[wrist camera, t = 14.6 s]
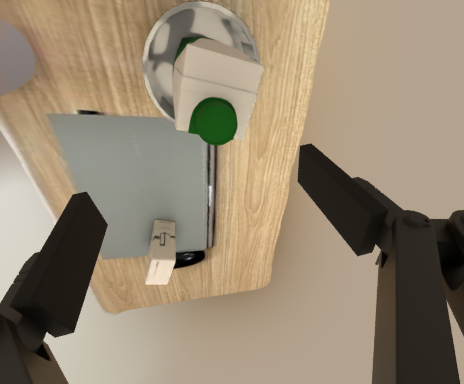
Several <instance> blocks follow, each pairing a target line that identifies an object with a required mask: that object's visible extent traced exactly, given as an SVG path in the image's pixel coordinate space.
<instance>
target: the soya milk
mask: <svg viewBox="0 0 464 384" xmlns="http://www.w3.org/2000/svg"><path fill="white" fill-rule="evenodd" d="M264 67H265V66H263V65H261V64H260V63H258V62H256V61H254V60H253V59H251V58H249V57H248V56H246V55H245V54H243V53H241V52H240V51H238V50H236V49H235V48H233V47H231V46H228V45H226V44H224V43H221V42H219V41H216V40H214V39H210V38H205V37H201V36H195V37H187V38H182V40H181V42H180V45H179V48H178V50H177V53H176V55H175V60H174V67H173V103H174V114H175V125H176V130H181V131H188V133H193V134H198V135H200V137H201V138H202V139H203V140H204V141H205V142H207V143H208V144H211V145H223V144H225V143H227V142H229V141H230V140H233V139H235V140H240V141H243V139H244V136H245V133H246V130H247V126H248V123H249V120H250V117H251V114H252V110H253V107H254V105H255V102H256V99H257V95H258V94H257V91H258V88H259V84H260V81H261V78H262V74H263V71H264Z"/></svg>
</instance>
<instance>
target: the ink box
mask: <svg viewBox="0 0 464 384" xmlns="http://www.w3.org/2000/svg"><path fill="white" fill-rule="evenodd" d="M175 261H176V258H175V222H172V221H164V220H155V222H154V227H153V232H152V236H151V241H150V246H149V254H148V262H147V271H146V279H145V284H146V285H167V284H168V281H169V278H170V276H171V273H172V270H173V267H174V264H175Z"/></svg>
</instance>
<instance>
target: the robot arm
mask: <svg viewBox="0 0 464 384" xmlns="http://www.w3.org/2000/svg"><path fill="white" fill-rule="evenodd" d="M299 153H300V154H299V168H298V182H299V184H300V185H301V186H302V187H303V189H304V190H305V191H306V192H307V194H308V195H309V196H310V197H311V199H312V200H313V201H314V202H315V203H316V205H317V206H318V207H319V209H320V210H321V211H322V212H323V214H324V215H325V216H326V217H327V219H328V220H329V221H330V222H331V224H332V225H333V226H334V227H335V229H336V230H337V231H338V232H339V234H340V235H341V236H342V237H343V239H344V240H345V241H346V242H347V243H348V245H349V246H350V247H351V248H352V250H353V251H354V252H355V254H356V255H357V256H360V255H364V254H368V253H372V251H373V249H374V247H375V244H376V245H377V246H378V247H379V248H380V249H381V252H380V254H379V256H378V259H377V261H376V265H378V264H379V269H378V287H377V304H376V306H377V307H376V321H375V338H374V357H373V374H372V384H460V380H459V374H458V368H457V362H456V356H455V350H454V344H453V338H452V332H451V326H450V320H449V314H448V308H447V302H448V304H449V306H450V308H451V310H452V312H453V314H454V317H455V319H456V321H457V323H458V325H459V327H460V329H461V332H462V334H463V336H464V210H458V211H455V212H453V213H452V215H451V216H450V218H449V219H429V218H428V217H427V216H425V215H423V214H421V213H419V212H416V211H410V210H403V209H402V208H400V207H399V206H398V205H396V204H395V203H394V202H393V201H392V200H390V199H389V198H388V197H387V196H385V195H384V194H383V193H381V192H380V191H379V190H378V189H377V188H375V187H374V186H373V185H372V184H370V183H369V182H368V181H366V180H363V179H361V178H359V177H356V178H351V177H350V176H349V175H347V174H346V173H345V172H344V171H343V170H342V169H340V168H339V167H338V166H337V165H335V163H333V162H332V161H331V160H330V159H329V158H328V157H326V156H325V155H324V154H323V153H322V152H321V151H319V150H318V149H317V148H316V147H315V146H314V145H312V144H307V145H302V146H300V152H299ZM107 226H108V224H107V223H106V221H105V220H104V218H103V217H102V215H101V213H100V212H99V210H98V209H97V207H96V206H95V204H94V202H93V201H92V199H91V198H90V196H89V195H88V193H87V192H82V193H78V194H73V195H72V197H71V199H70V201H69V202H68V204H67V206H66V207H65V209H64V211H63V213H62V214H61V216H60V218H59V220H58V221H57V223H56V225H55V227H54V228H53V230H52V232H51V234H50V235H49V237H48V239H47V241H46V242H45V244H44V246H43V247H42V249H41V251H40V252H37V253H34V254H33V255H32V256H31V257H30V258H29V259H28V260H27V261H26V262H25V264H24V265H23V267H22V269H21V270H20V272H19V275H17V277H16V278H15V280H14V284H12V285H11V286H10V288H9V290H8V291H7V293H6V295H5V296H4V298H3V300H2V301H1V303H0V384H68V382H67V380H66V378H65V376H64V374H63V372H62V371H61V369H60V367H59V365H58V363H57V361H56V359H55V358H54V356H53V354H52V352H51V350H50V348H49V346H48V345H47V344H46V343H45V342H44V341H43V339H44V337H45V334H46V332H48V333H49V334H51V335H52V336H54V337H55V338H56V337H59V336H63V335H67V334H70V333H73V332H74V330H75V328H76V324H77V321H78V318H79V315H80V311H81V308H82V305H83V302H84V299H85V296H86V292H87V289H88V286H89V283H90V280H91V277H92V274H93V270H94V267H95V264H96V261H97V258H98V255H99V251H100V248H101V245H102V242H103V239H104V235H105V232H106V229H107ZM446 299H447V302H446Z"/></svg>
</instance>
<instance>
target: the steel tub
mask: <svg viewBox="0 0 464 384" xmlns="http://www.w3.org/2000/svg"><path fill="white" fill-rule="evenodd" d="M195 36H201V37H205V38H210V39H214V40H216V41H219V42H221V43H224V44H226V45H228V46H231V47H233V48H235V49H236V50H238V51H240V52H241V53H243V54H245V55H246V56H248V57H249V58H251V59H253V60H254V61H256V62H258V63H260V56H259V52H258V49H257V45H256V42H255V40H254V38H253V36H252V34H251V32H250V31H249V29H248V27H247V26H246V25H245V24H244V23H243V21H242V20H241V19H240V18H239V17H238V16H237V15H236V14H235V13H233V12H232V11H230V10H228V9H227V8H225V7H223V6H221V5H220V4H216V3H211V2H207V1H201V0H200V1H192V2H184V3H182V4H180V5H178V6H176V7H174V8H172V9H170V10H168V11H166V12H165V13H164V15H163V16H162V17H161V18H160V19H159V20H158V21H157V22H156V23H155V24H154V25H153V27H152V29H151V31H150V33H149V35H148V37H147V39H146V41H145V46H144V52H143V57H142V67H143V79H144V82H145V85H146V88H147V92H148V94H149V96H150V98H151V99H152V101H153V103H154V105H155V106H156V108H157V109H158V110H159V111H160V112H161V113H162V114H163V115H164V116H165V117H166V118H167V119H168V120H169V121H171V122H172V123H174V124H175V114H174V103H173V67H174V60H175V55H176V53H177V50H178V48H179V45H180V42H181V40H182V38H187V37H195Z"/></svg>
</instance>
